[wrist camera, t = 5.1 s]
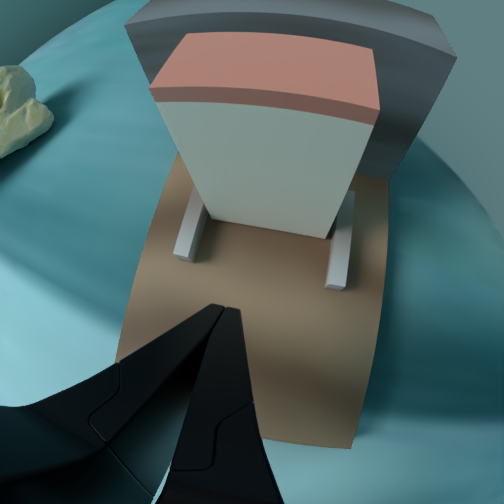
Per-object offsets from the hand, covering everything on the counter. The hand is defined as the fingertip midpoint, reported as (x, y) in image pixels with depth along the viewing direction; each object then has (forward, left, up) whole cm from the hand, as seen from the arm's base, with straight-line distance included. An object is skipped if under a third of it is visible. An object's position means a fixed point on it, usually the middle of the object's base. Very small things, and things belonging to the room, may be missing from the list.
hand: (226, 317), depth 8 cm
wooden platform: (+4, -1, -8) cm, 9 cm away
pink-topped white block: (+6, -2, -6) cm, 9 cm away
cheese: (+17, +26, -8) cm, 32 cm away
